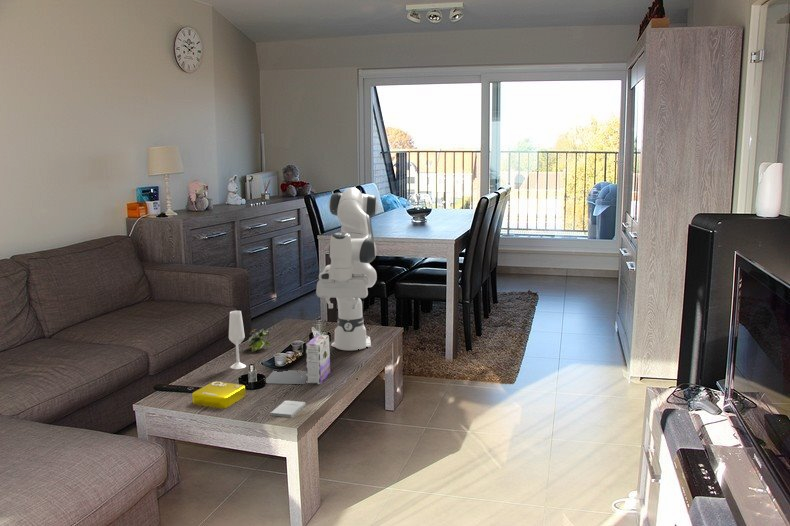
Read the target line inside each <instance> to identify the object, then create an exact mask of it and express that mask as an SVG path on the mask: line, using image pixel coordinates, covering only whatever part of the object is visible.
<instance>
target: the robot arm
mask: <svg viewBox="0 0 790 526" xmlns="http://www.w3.org/2000/svg"><path fill="white" fill-rule="evenodd" d="M328 209H329V212H330V214H332V215H333V216H336V217H337V219H338V221H339V222H340V223H341V228H340V231H337V232H334V233H332V234H331V236H330V242H329V245H328V257H329V258H330V264H327V265H326V266H325V267H324V269H323V271H322V272H320V273H319V274H318V279H319V280H318V281H317V283H316V288H315V289H316V290H315V294H316V296H317V297H318V298H325V301H326V303H327V304H328V309H333V308H334V303H331V300H330V299H331V298H336V301H337V310H338V311H337V312H338V317H337V320H336V321H337V326H336V327H335V328H334V341H333V342H332V343H331V346H330V347H334V348H336V349H337V350H342V351H358V349H359V350H363V349H367V348H366V347H368V348H371V347H372V343H371V337H370V336H368V335H367V329H366V327H365V324H364V316H363V302H362V299H365V298H367V297H368V295H369V291H368V288H372V287H373V286H374V285H375V284H376V282H377V280H378V279H377V278H378V276H377V275H378V274H377V271H376V269H375V268H374V267H373V266H372V265H371V264H370V263H372V262H373V261H374V260H376V257H377V245H376V243H375V239H374V232H373V225H372V220H371V219H372V218H374V216H375V215H376V213H377V211H378V209H379V202H378V200H377V197H376V196H375V195H374V194H370V193H368V194H366V193H362V192H361V190H359V189H358V188H356V187H349V188H346V189H345V190H344V191H342V192H335V193H333V194H331V196H330V198H329V201H328Z"/></svg>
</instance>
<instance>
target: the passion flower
mask: <svg viewBox="0 0 790 526" xmlns="http://www.w3.org/2000/svg"><path fill="white" fill-rule="evenodd" d="M257 330H258V329H257V328H256V329H253V330H250V333H249V335H250V337H249V338H248V340H247V344H248V348H249V347H251V352H256V351H257V350H261V349H262V348H263V347H264V346H266V348H267V350H269V347H271V344H270V342H268V341H269V337H270V330H267V331H265V330H264V328H262V329H259V330H258V331H257ZM266 336H267V338H266V340H264V338H265V337H266Z"/></svg>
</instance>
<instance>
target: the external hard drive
mask: <svg viewBox="0 0 790 526" xmlns="http://www.w3.org/2000/svg"><path fill="white" fill-rule="evenodd" d="M306 404H307V403H306V402H305V401H296V400H286V399H285V400H284V401H283V402H281V403H280V404H279V405H278V406H277V407H276V408H274V409H273V410H272V411H271V412H270V413H269V415H270V416H274V417H282V418H293V417H294V416H295V415H296V414H297V413H298V412H299V411H300V410H302V409H303V408H304V407H305V406H306Z"/></svg>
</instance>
